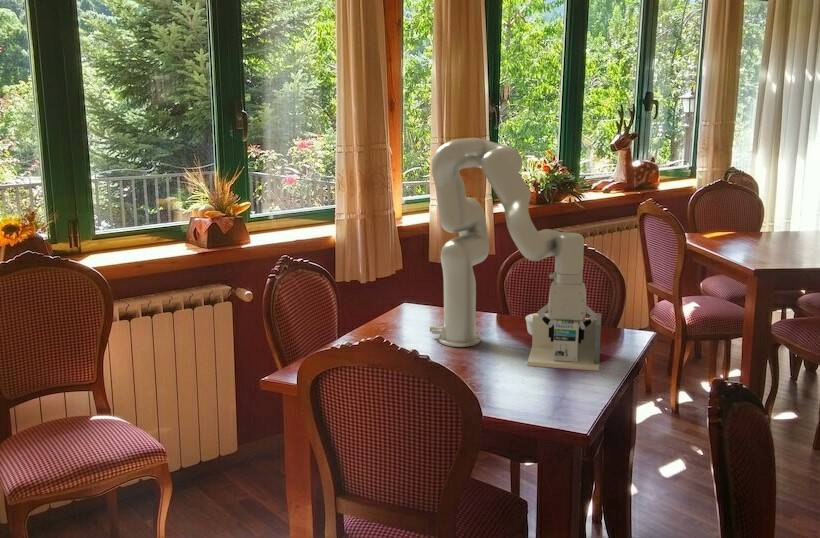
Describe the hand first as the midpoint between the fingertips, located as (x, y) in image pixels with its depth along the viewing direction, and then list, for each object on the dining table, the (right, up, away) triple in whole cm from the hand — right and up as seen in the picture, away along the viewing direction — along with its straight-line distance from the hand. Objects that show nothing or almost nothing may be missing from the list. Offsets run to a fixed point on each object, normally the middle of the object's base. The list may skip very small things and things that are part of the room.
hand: (566, 340), depth 220 cm
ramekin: (-2, 0, +26) cm, 26 cm away
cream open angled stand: (0, -5, +2) cm, 6 cm away
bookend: (+8, -5, -1) cm, 10 cm away
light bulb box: (0, -4, +1) cm, 5 cm away
